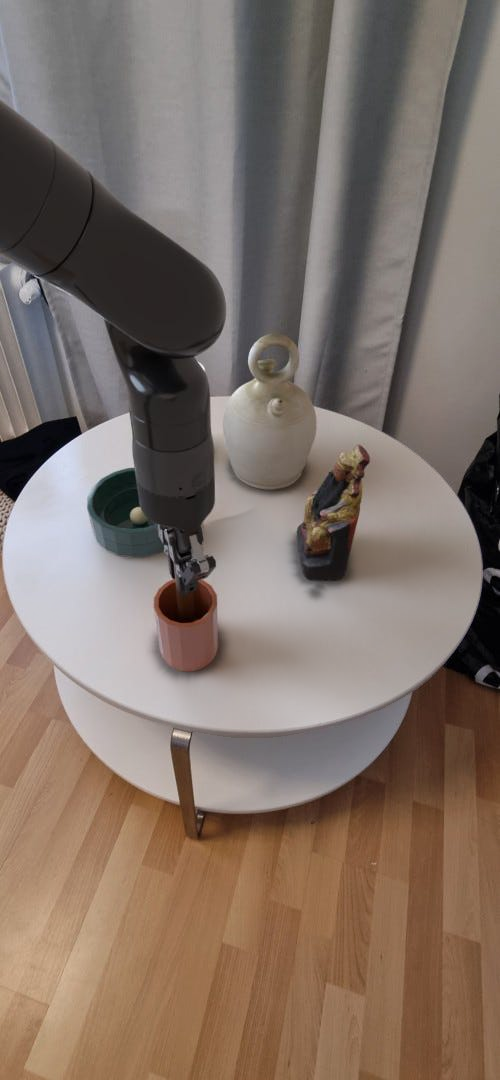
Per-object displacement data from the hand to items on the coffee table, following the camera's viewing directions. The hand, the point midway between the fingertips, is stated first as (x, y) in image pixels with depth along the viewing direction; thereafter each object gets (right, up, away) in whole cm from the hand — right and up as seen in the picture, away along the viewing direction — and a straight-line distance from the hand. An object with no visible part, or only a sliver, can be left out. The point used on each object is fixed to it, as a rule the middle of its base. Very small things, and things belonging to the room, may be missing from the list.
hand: (184, 582), depth 68 cm
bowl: (-10, +7, +25) cm, 28 cm away
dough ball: (-10, +9, +23) cm, 27 cm away
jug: (+11, +18, +36) cm, 41 cm away
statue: (+19, +2, +21) cm, 28 cm away
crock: (0, -9, +10) cm, 14 cm away
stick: (0, -9, +10) cm, 13 cm away
